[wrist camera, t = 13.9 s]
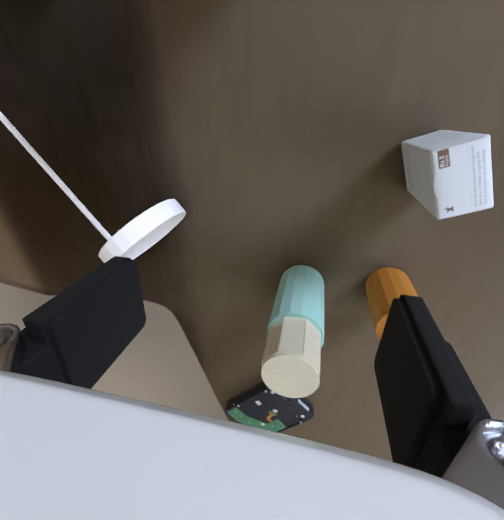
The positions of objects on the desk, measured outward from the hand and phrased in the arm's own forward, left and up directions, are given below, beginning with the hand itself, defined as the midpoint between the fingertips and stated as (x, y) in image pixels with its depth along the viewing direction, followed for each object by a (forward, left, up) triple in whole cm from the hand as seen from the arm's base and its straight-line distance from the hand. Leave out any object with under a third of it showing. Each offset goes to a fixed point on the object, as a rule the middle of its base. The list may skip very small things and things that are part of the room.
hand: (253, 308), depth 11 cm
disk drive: (+28, -36, -31) cm, 55 cm away
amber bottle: (+20, -3, -30) cm, 36 cm away
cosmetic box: (+9, +10, -31) cm, 33 cm away
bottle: (+12, -12, -30) cm, 35 cm away
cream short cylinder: (+12, -12, -18) cm, 25 cm away
